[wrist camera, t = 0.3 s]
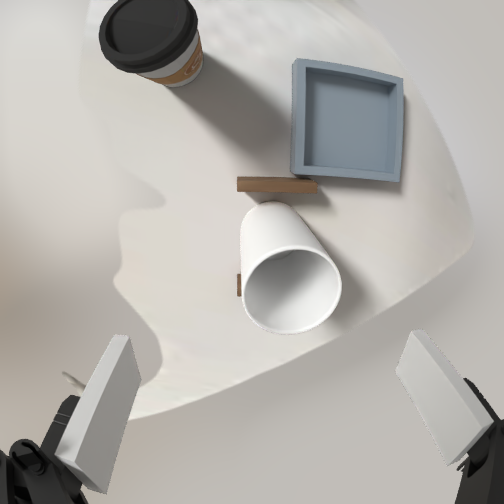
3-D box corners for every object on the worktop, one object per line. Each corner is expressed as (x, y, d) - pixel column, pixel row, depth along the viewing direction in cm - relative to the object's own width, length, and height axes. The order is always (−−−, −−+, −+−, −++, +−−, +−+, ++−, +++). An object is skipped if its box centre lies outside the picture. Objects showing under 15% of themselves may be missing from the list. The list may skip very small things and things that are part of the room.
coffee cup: (194, 103, 31) (163, 78, 17) (136, 85, 29) (77, 59, 15) (222, 46, 28) (213, -9, 14) (163, 30, 26) (123, -22, 12)
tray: (292, 64, 29) (297, 58, 26) (392, 81, 30) (403, 78, 27) (290, 171, 34) (294, 174, 32) (388, 178, 35) (399, 182, 32)
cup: (314, 223, 37) (361, 279, 22) (279, 271, 39) (300, 348, 25) (263, 188, 35) (282, 225, 20) (228, 241, 37) (222, 308, 23)
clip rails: (237, 176, 34) (237, 181, 31) (309, 178, 35) (317, 183, 31) (237, 281, 40) (237, 296, 36) (301, 280, 40) (307, 295, 36)
